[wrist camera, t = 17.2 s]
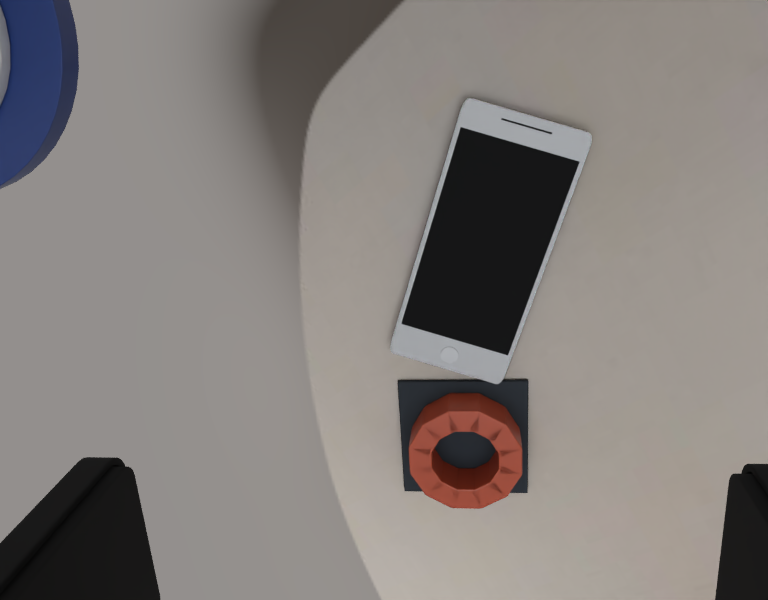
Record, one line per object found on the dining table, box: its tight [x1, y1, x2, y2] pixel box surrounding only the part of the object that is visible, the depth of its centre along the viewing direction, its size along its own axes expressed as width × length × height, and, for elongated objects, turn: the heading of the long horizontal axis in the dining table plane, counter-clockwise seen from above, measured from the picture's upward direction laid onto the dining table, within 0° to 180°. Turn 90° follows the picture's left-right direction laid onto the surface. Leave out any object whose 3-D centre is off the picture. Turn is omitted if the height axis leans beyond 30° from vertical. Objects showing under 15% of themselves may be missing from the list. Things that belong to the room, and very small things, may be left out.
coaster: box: [398, 380, 528, 493], centre depth 44 cm, size 8×8×1 cm
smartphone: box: [390, 98, 592, 384], centre depth 40 cm, size 7×15×1 cm, turn 165°
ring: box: [409, 393, 522, 508], centre depth 43 cm, size 7×7×2 cm
